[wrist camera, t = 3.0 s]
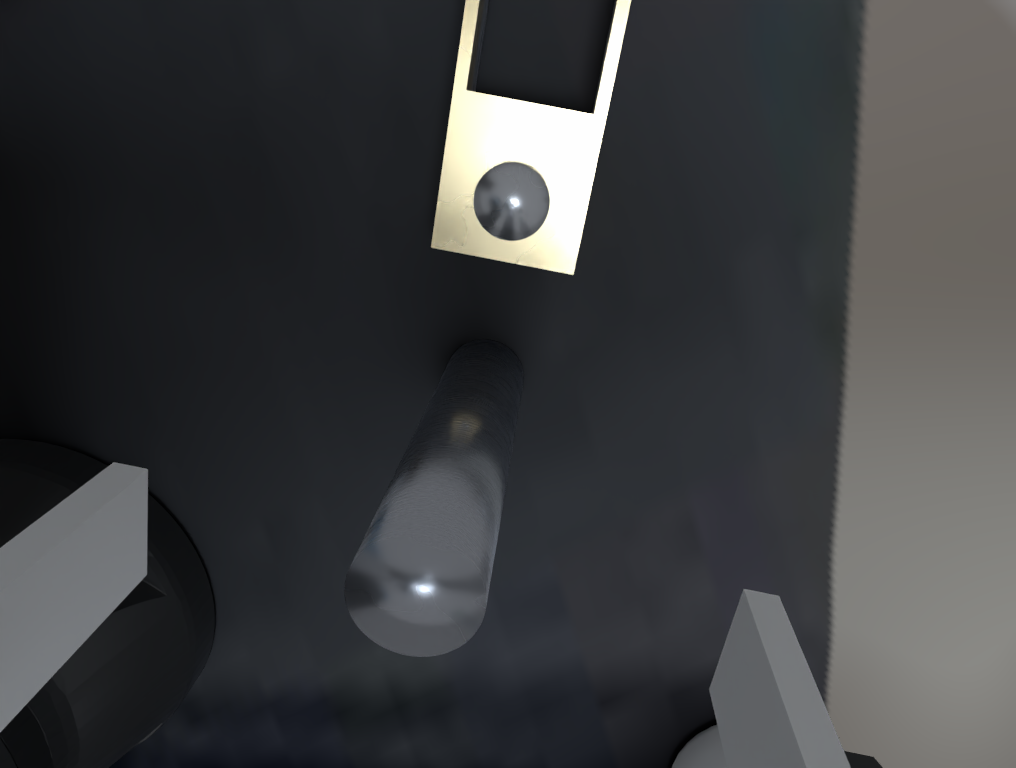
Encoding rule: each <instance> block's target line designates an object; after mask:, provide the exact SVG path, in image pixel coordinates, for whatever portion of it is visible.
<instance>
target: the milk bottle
mask: <svg viewBox="0 0 1016 768" xmlns="http://www.w3.org/2000/svg"><path fill="white" fill-rule="evenodd" d="M672 768H727V765H726V760H725V756H724V752H723V747H722V743H721V739H720V734H719V730H718V726H717V725H714V726H711V727H710V728H708V729H706V730H704V731H702V732H700V733H698V734H697V735H696V736H695V737H694V738H693V739H691V740H690V741H689V742H687V743H686V745H685V746H684V747H683V749H682V750H681V751H680V752H679V753H678V755H677V757H676V759H675V761H674V763H673V765H672Z"/></svg>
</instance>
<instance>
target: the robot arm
mask: <svg viewBox="0 0 1016 768" xmlns="http://www.w3.org/2000/svg"><path fill="white" fill-rule="evenodd" d="M214 629H215V611H214V602H213V596H212V591H211V588H210V584H209V581H208V578H207V575H206V572H205V569H204V567H203V565H202V562H201V560H200V558H199V556H198V554H197V552H196V550H195V549H194V547H193V545H192V544H191V542H190V540H189V539H188V537H187V536H186V535H185V533H184V532H183V530H182V529H181V528H180V526H179V525H178V524H177V523H176V521H175V520H174V519H173V518H172V517H171V515H170V514H169V513H168V512H167V511H166V510H165V509H164V508H163V507H162V506H161V505H160V504H159V503H158V502H157V501H156V500H155V499H154V498H153V497H151V496H150V495H149V494H148V469H145V468H140V467H135V466H130V465H125V464H120V463H115V462H113V463H112V464H111V465H109V466H107V465H105V464H103V463H101V462H99V461H97V460H95V459H93V458H91V457H88V456H86V455H84V454H81V453H78V452H76V451H73V450H70V449H67V448H64V447H60V446H57V445H52V444H48V443H44V442H38V441H32V440H22V439H0V768H108V767H110V766H111V765H112V764H114V763H115V762H116V761H117V760H118V759H120V758H121V757H122V756H123V755H125V754H126V753H127V752H128V751H130V750H131V749H132V748H133V747H134V746H136V745H137V744H139V743H141V742H142V741H144V740H146V739H147V738H148V737H150V736H151V735H152V734H153V733H155V732H156V731H157V730H158V729H159V728H160V727H161V726H162V725H163V724H164V723H165V722H166V721H167V720H168V719H169V718H170V717H171V716H172V714H173V713H174V712H175V711H176V710H177V708H178V707H179V705H180V704H181V702H182V701H183V699H184V698H185V696H186V695H187V693H188V692H189V690H190V689H191V687H192V686H193V684H194V682H195V681H196V679H197V678H198V676H199V675H200V673H201V672H202V670H203V668H204V666H205V664H206V662H207V659H208V657H209V654H210V651H211V647H212V643H213V638H214ZM709 691H710V695H711V700H712V704H713V708H714V713H715V717H716V721H717V726H718V730H719V734H720V739H721V743H722V747H723V752H724V756H725V760H726V765H727V768H882V766H881V765H880V764H879V763H878V762H877V761H876V760H875V758H874V757H870V756H866V755H861V754H856V753H851V752H846V751H844V750H843V748H842V745H841V743H840V741H839V738H838V736H837V733H836V731H835V729H834V726H833V724H832V721H831V719H830V717H829V714H828V712H827V709H826V707H825V705H824V702H823V700H822V698H821V695H820V693H819V690H818V688H817V686H816V683H815V681H814V678H813V676H812V674H811V671H810V669H809V667H808V664H807V662H806V659H805V657H804V655H803V652H802V650H801V647H800V645H799V643H798V640H797V638H796V636H795V633H794V631H793V628H792V626H791V624H790V621H789V619H788V616H787V614H786V612H785V609H784V607H783V605H782V602H781V600H780V597H779V596H776V595H771V594H766V593H761V592H756V591H752V590H747V589H743V592H742V595H741V598H740V601H739V604H738V607H737V610H736V613H735V615H734V618H733V621H732V624H731V627H730V630H729V633H728V636H727V639H726V642H725V645H724V647H723V650H722V653H721V656H720V659H719V662H718V665H717V668H716V671H715V674H714V677H713V680H712V682H711V685H710V688H709Z"/></svg>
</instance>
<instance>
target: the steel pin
mask: <svg viewBox="0 0 1016 768" xmlns="http://www.w3.org/2000/svg"><path fill="white" fill-rule="evenodd" d="M523 383H524V373H523V368H522V365H521V363H520V360H519V359H518V357H517V356H516V355H515V353H514V352H513V351H512V350H511V349H509V348H508V347H507V346H505V345H503V344H502V343H499V342H497V341H493V340H486V339H481V340H475V341H471V342H468V343H466V344H464V345H462V346H461V347H460V348H458V349H457V350H456V351H455V352H454V354H453V355H452V357H451V358H450V360H449V362H448V364H447V366H446V368H445V371H444V373H443V375H442V377H441V379H440V381H439V383H438V385H437V387H436V389H435V391H434V393H433V396H432V398H431V400H430V402H429V404H428V406H427V408H426V410H425V412H424V414H423V416H422V418H421V420H420V423H419V425H418V427H417V429H416V431H415V433H414V435H413V437H412V439H411V441H410V443H409V445H408V448H407V450H406V452H405V454H404V456H403V458H402V460H401V462H400V464H399V466H398V468H397V470H396V472H395V475H394V477H393V479H392V481H391V483H390V485H389V487H388V489H387V491H386V493H385V495H384V497H383V500H382V502H381V504H380V506H379V508H378V510H377V512H376V514H375V516H374V518H373V520H372V522H371V524H370V527H369V529H368V531H367V533H366V535H365V537H364V539H363V541H362V543H361V545H360V547H359V549H358V552H357V554H356V556H355V558H354V560H353V562H352V564H351V566H350V568H349V571H348V573H347V576H346V580H345V590H344V593H345V601H346V605H347V608H348V611H349V613H350V615H351V617H352V619H353V620H354V622H355V623H356V625H357V626H358V627H359V629H360V630H361V631H362V632H363V633H364V634H365V635H366V636H367V637H369V638H370V639H371V640H372V641H374V642H375V643H377V644H378V645H380V646H382V647H384V648H386V649H388V650H391V651H393V652H396V653H400V654H404V655H409V656H419V657H426V656H435V655H441V654H444V653H447V652H450V651H452V650H454V649H457V648H458V647H460V646H461V645H463V644H465V643H466V642H467V641H468V640H469V639H470V638H471V637H472V636H473V635H474V634H475V633H476V631H477V630H478V628H479V627H480V625H481V623H482V621H483V618H484V614H485V610H486V604H487V598H488V592H489V586H490V580H491V574H492V568H493V562H494V556H495V550H496V544H497V538H498V532H499V526H500V520H501V514H502V509H503V503H504V497H505V491H506V485H507V479H508V473H509V467H510V461H511V455H512V449H513V443H514V437H515V431H516V425H517V419H518V413H519V407H520V401H521V395H522V389H523Z"/></svg>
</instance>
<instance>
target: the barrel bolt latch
mask: <svg viewBox="0 0 1016 768" xmlns="http://www.w3.org/2000/svg"><path fill="white" fill-rule="evenodd" d="M630 4H631V0H615V2H614V7H613V12H612V17H611V22H610V27H609V32H608V37H607V42H606V46H605V51H604V56H603V61H602V66H601V71H600V76H599V81H598V86H597V91H596V96H595V100H594V105H593V110H592V114H589V113H584V112H579V111H573V110H568V109H563V108H558V107H552V106H547V105H542V104H536V103H531V102H526V101H521V100H515V99H510V98H505V97H500V96H494V95H489V94H484V93H478V92H475V91H476V84H477V78H478V71H479V64H480V58H481V51H482V45H483V38H484V31H485V25H486V18H487V11H488V5H489V0H466V3H465V10H464V17H463V24H462V31H461V38H460V45H459V52H458V59H457V66H456V73H455V81H454V88H453V95H452V102H451V109H450V116H449V123H448V130H447V137H446V144H445V151H444V158H443V165H442V173H441V180H440V187H439V194H438V201H437V208H436V215H435V222H434V229H433V236H432V243H431V248H436V249H441V250H446V251H451V252H457V253H462V254H467V255H472V256H477V257H483V258H488V259H493V260H498V261H503V262H509V263H514V264H519V265H524V266H529V267H535V268H540V269H545V270H550V271H556V272H561V273H566V274H571V275H573V274H574V270H575V265H576V260H577V255H578V251H579V246H580V241H581V236H582V232H583V227H584V222H585V217H586V213H587V208H588V203H589V198H590V194H591V189H592V184H593V179H594V175H595V170H596V165H597V160H598V156H599V151H600V146H601V142H602V137H603V132H604V127H605V123H606V118H607V113H608V108H609V104H610V99H611V94H612V89H613V85H614V80H615V75H616V70H617V66H618V61H619V56H620V51H621V47H622V42H623V37H624V32H625V28H626V23H627V18H628V13H629V9H630Z"/></svg>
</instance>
